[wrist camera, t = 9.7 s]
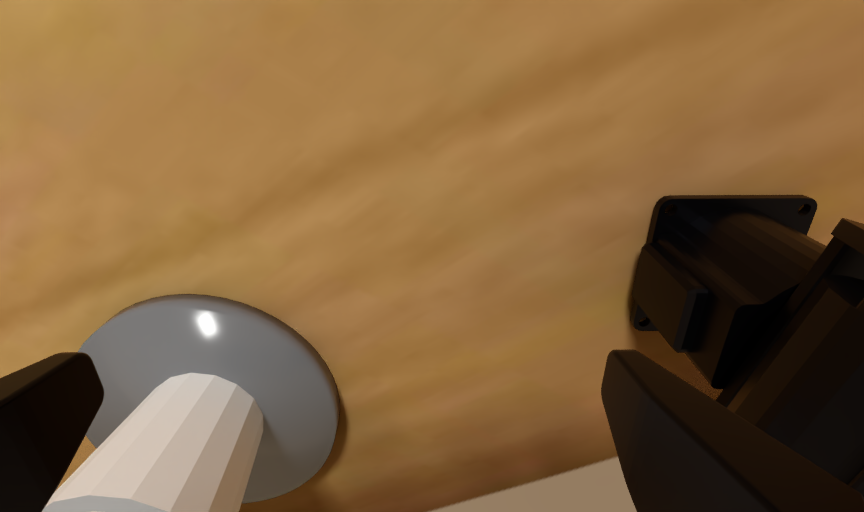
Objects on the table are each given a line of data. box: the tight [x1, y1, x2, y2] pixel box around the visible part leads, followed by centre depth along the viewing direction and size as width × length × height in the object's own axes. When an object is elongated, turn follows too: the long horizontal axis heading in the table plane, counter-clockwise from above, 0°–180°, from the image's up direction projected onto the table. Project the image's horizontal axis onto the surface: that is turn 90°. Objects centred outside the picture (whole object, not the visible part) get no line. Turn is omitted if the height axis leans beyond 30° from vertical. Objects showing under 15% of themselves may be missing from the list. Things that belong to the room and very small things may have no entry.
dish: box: [78, 294, 340, 503], centre depth 23 cm, size 13×13×1 cm
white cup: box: [42, 373, 263, 512], centre depth 20 cm, size 7×7×7 cm
